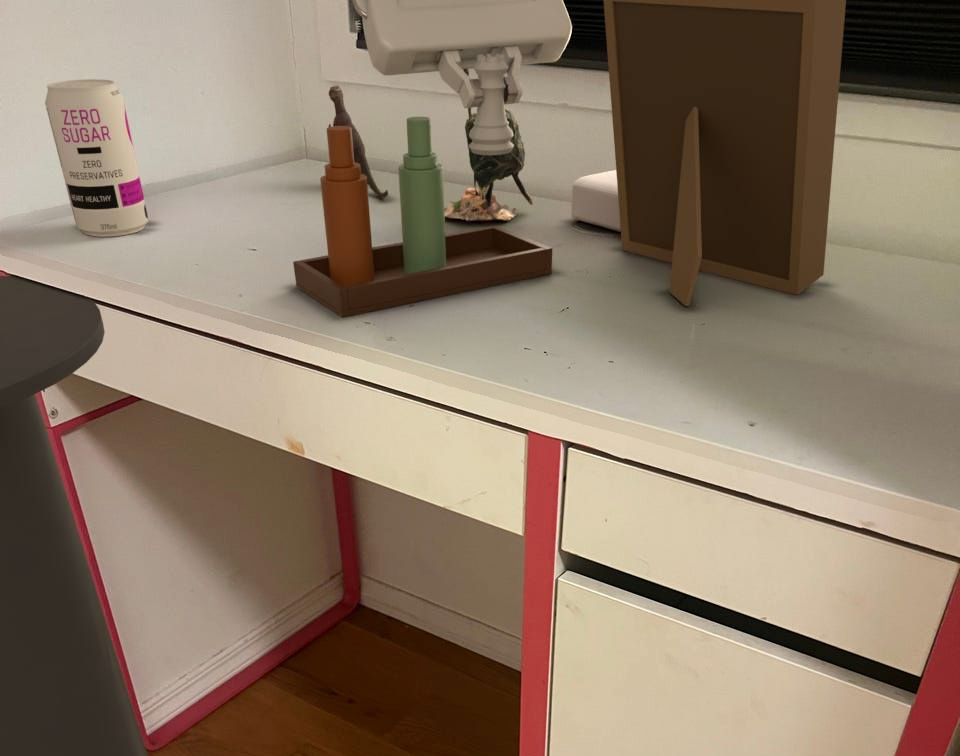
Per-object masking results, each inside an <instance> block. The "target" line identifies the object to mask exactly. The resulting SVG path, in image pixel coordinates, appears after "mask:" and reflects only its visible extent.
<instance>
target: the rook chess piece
mask: <svg viewBox="0 0 960 756" xmlns="http://www.w3.org/2000/svg"><path fill="white" fill-rule="evenodd" d="M504 60H505V55H501V54H495V57H491V54H486V57H484V55H483V54H480V55H478V56H477V63H476V64H475V66H474V67H473V70H474V71H475V73H476V75H477V79H478V80H479V82H480V88H481V89H482V91H483V100H482V101H481V102H480V104H481V105H480V106H479V107H476V113H477V114H476V113H475V114H476V119H475V121H474V122H473V124H474V126H473V128H472V129H471V130H470V133H469V137H470V138H471V139H472V141H473V142H472V143H471V144H470V145H469V148H470V149H471V151H472V152H473V153H475V154H479V155H502V154H507V153H509V152H510V151H511V150H512V148H513V147H514V145H513V144H512V143H511V142H510V140H511V138H512V137H513V136H514V135H513V131H512V130H511V128H510V127H509V126H508V125H509V122H508V121H507V117H506V113H505V107H506V104H504V88H505V87H506V85H505V84H504V80H503V78H504V77H505V73H506V71H507V69H508V68H509V67H508V66H507V64H506V63H505V61H504ZM506 74H507V73H506Z"/></svg>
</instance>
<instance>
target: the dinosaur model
mask: <svg viewBox="0 0 960 756" xmlns="http://www.w3.org/2000/svg"><path fill="white" fill-rule="evenodd" d="M328 96H329V99H330V100H331V101H332V102H333V106H334V111H335V116H334V118H333V122H332V125H331V123H329V124H328V126H327V128H328V127H332V126H349V127H351V128H352V139H353V151H354V162H355V163H359V164H360V168H361V174H363V175H366V177H367V186H369V188H370V189H371V191H372V192H373V193H374V194H375V195H376V196H378V197H379V198H380V199H385V198H387V196H388V195H389V191H388V190H387V189H386V190H385V191H384V192H382V191H381V190H380V189H379V187H378V186H377V183H376V181H375V180H374V177H373V175H372V172H371V169H370V167H369V163H368V160H367V157H366V147H365V144H364V142H363V140H362V137H361V135H360V132H359V131H358V130H357V128H356V126H355V125H354V124H353V121H352V118H351V116H350V114H349V113H348V112H347V110H346V105H345V101H344V92H343V89H342V88H341V86H339V85H333V86H330V88H329V90H328Z"/></svg>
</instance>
